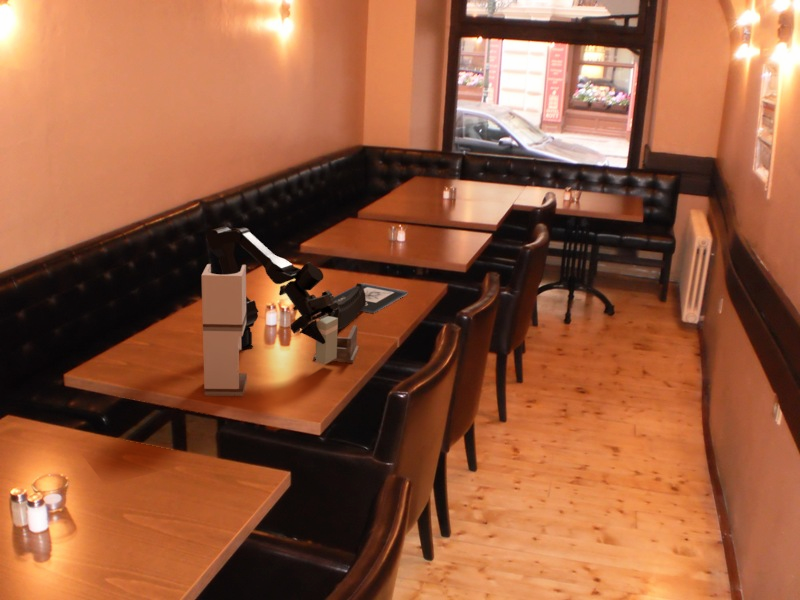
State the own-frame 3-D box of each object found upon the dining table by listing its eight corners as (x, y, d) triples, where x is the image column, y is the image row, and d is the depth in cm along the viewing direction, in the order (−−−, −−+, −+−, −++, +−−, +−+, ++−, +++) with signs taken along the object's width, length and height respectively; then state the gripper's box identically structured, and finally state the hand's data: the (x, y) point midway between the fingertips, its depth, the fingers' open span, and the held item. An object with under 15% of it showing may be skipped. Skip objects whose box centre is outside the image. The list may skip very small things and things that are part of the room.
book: (315, 361, 259) (316, 321, 255) (326, 355, 265) (328, 315, 261) (325, 364, 257) (326, 323, 254) (336, 357, 263) (337, 318, 259)
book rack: (313, 359, 268) (313, 336, 265) (321, 345, 280) (321, 322, 278) (352, 363, 267) (353, 339, 264) (358, 348, 279) (359, 325, 277)
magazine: (334, 312, 286) (363, 266, 310) (325, 310, 287) (355, 265, 311) (338, 352, 295) (366, 306, 319) (329, 351, 296) (358, 304, 320)
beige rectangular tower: (242, 395, 239) (241, 276, 229) (204, 395, 238) (201, 275, 228) (246, 380, 250) (245, 264, 240) (210, 379, 249) (207, 264, 239)
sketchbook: (323, 305, 324) (323, 300, 323) (361, 286, 350) (361, 281, 349) (373, 315, 315) (373, 309, 314) (408, 295, 341) (408, 290, 340)
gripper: (299, 291, 248) (330, 334, 246) (333, 277, 264) (363, 317, 262) (277, 311, 253) (307, 354, 252) (311, 296, 269) (340, 336, 268)
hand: (330, 340), depth 258 cm, fingers closed on book, 6 cm apart
